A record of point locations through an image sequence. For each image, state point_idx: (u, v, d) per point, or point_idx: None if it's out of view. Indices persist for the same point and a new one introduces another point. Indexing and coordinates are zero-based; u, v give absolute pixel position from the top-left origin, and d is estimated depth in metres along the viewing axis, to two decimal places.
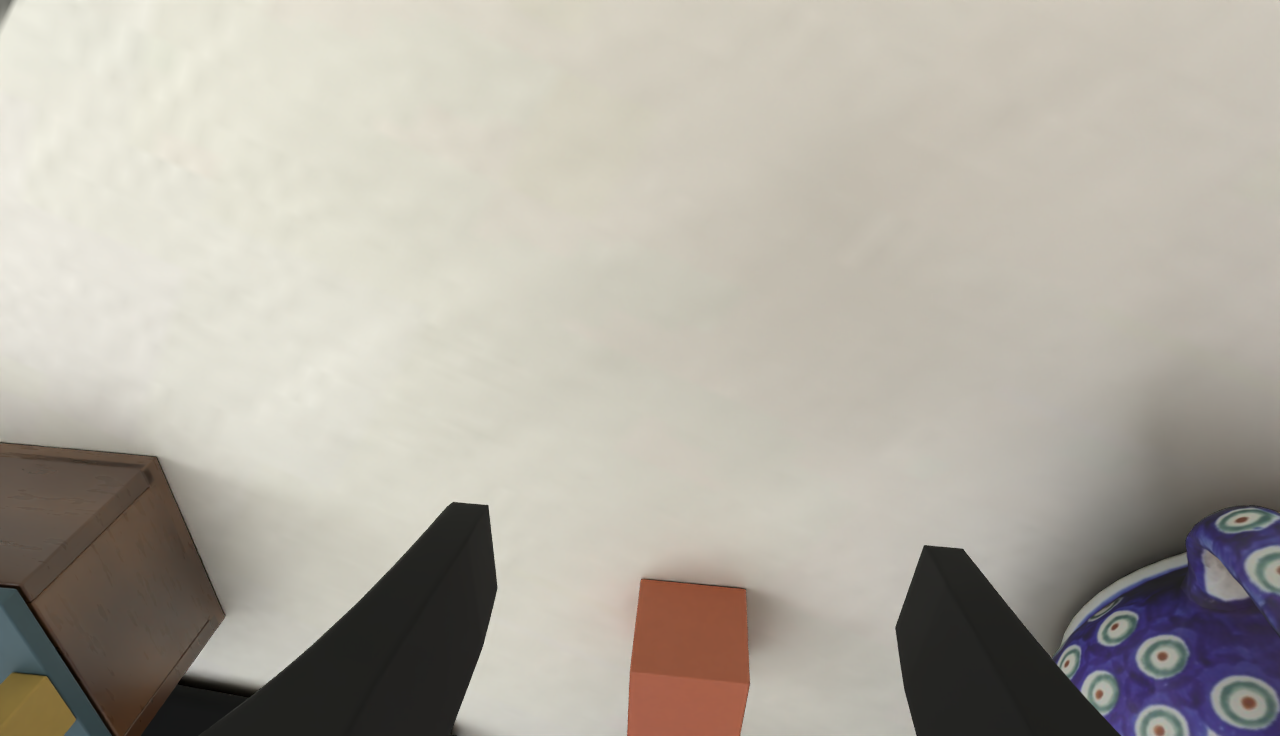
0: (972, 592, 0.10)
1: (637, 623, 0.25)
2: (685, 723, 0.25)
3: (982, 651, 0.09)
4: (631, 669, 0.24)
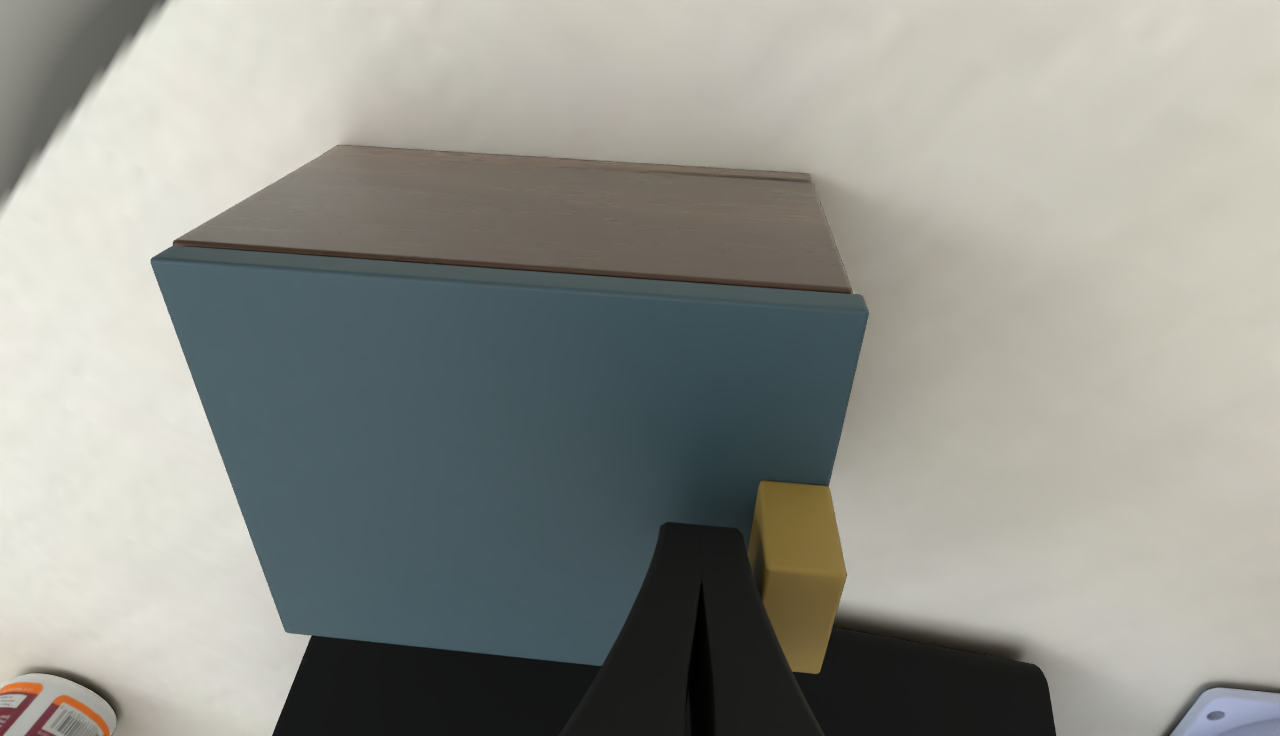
0: (721, 568, 0.10)
1: None
2: None
3: (706, 624, 0.09)
4: None
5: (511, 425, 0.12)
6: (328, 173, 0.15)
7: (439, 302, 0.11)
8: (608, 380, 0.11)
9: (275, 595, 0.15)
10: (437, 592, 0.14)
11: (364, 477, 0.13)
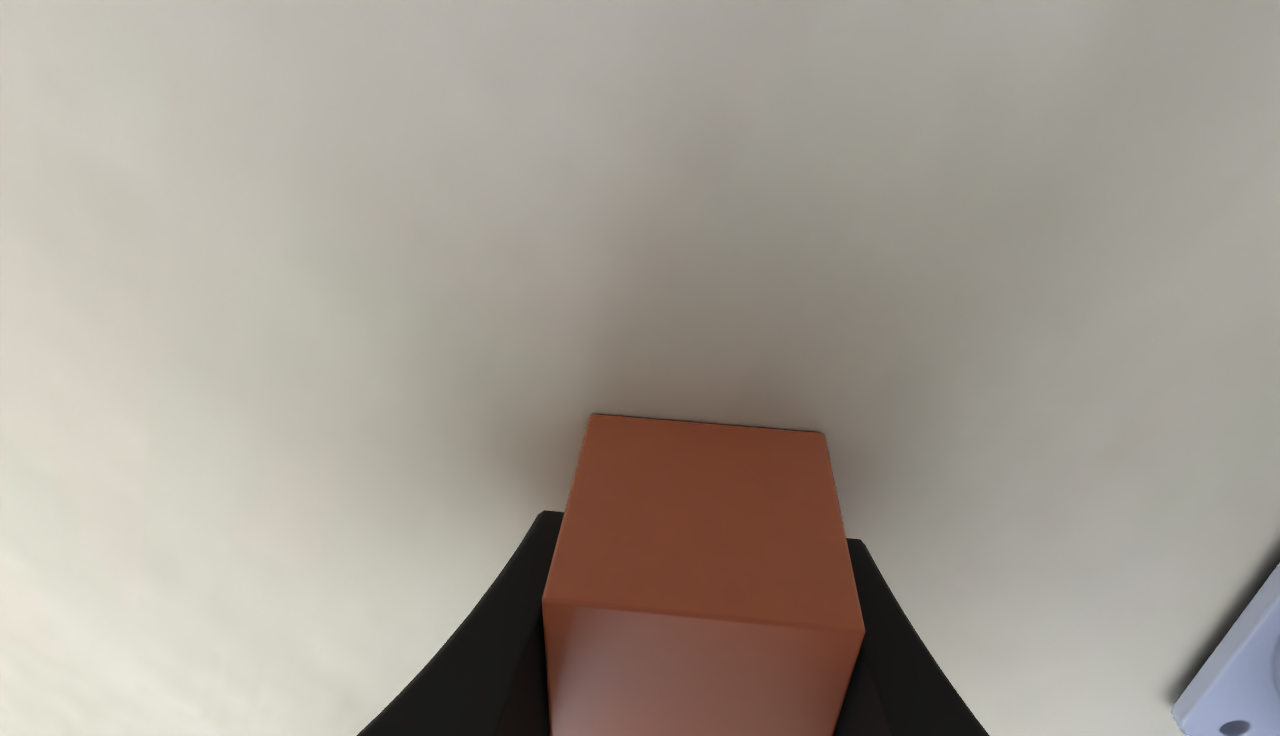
0: (858, 581, 0.10)
1: None
2: (734, 714, 0.10)
3: None
4: None
5: None
6: None
7: None
8: None
9: None
10: None
11: None
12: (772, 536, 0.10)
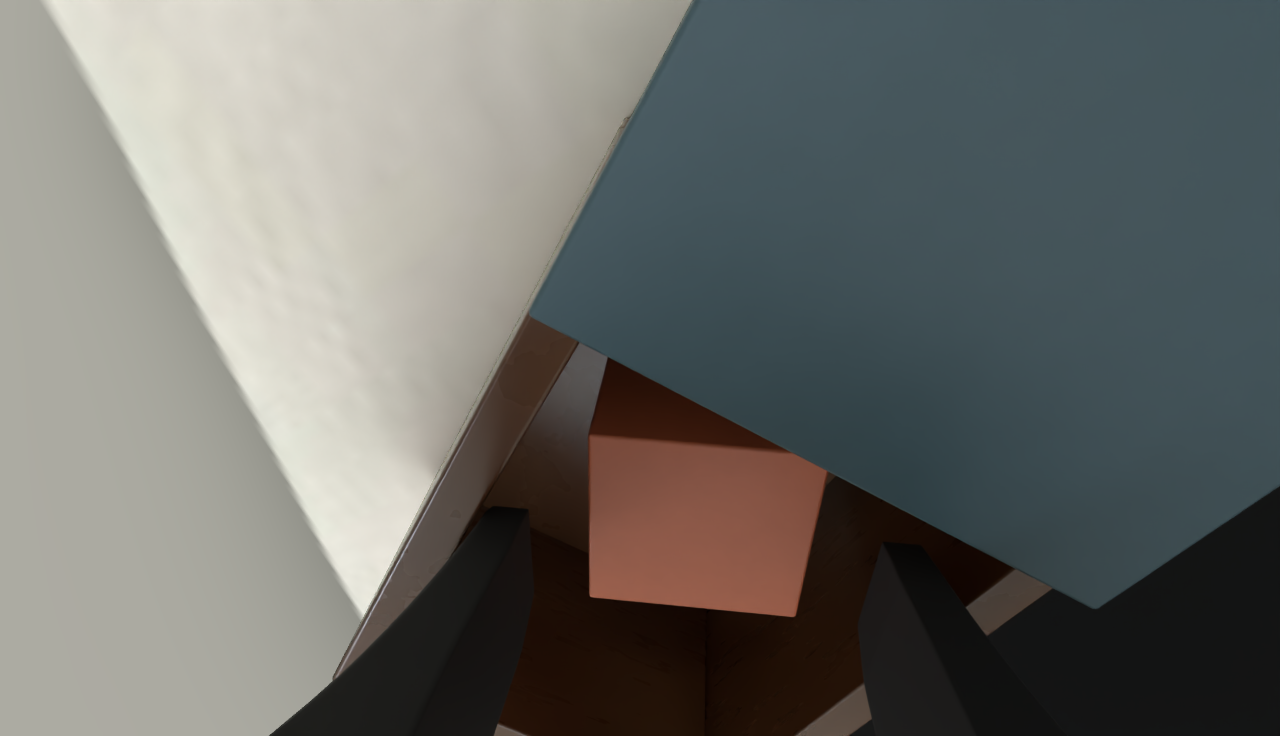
0: (926, 588, 0.10)
1: None
2: (734, 535, 0.12)
3: (931, 647, 0.09)
4: (589, 592, 0.14)
5: None
6: None
7: None
8: None
9: (1033, 572, 0.10)
10: (1238, 363, 0.08)
11: (962, 306, 0.08)
12: None
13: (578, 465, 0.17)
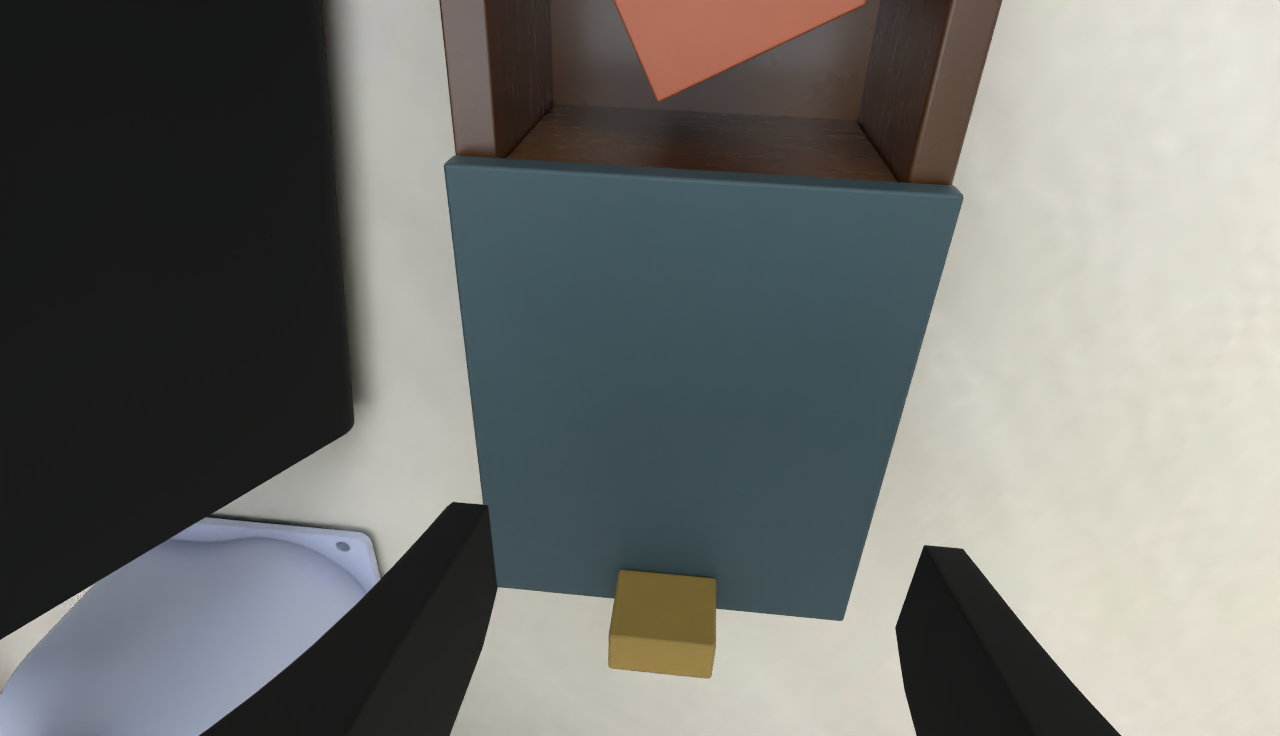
0: (972, 592, 0.10)
1: None
2: None
3: (982, 652, 0.09)
4: None
5: (765, 442, 0.15)
6: None
7: (883, 414, 0.14)
8: (804, 504, 0.16)
9: (513, 173, 0.12)
10: (556, 353, 0.14)
11: (707, 319, 0.14)
12: None
13: None
